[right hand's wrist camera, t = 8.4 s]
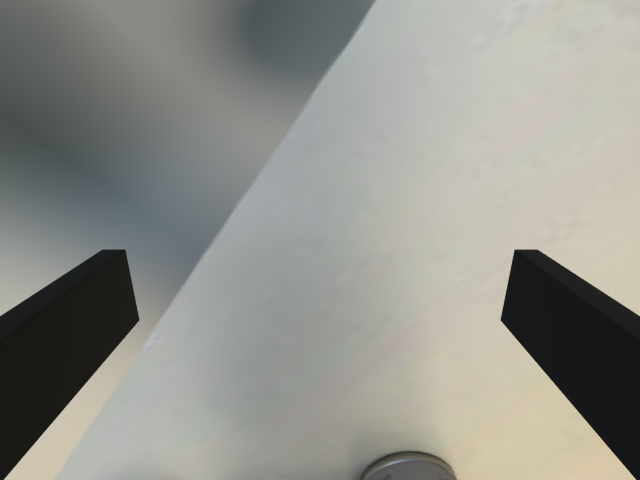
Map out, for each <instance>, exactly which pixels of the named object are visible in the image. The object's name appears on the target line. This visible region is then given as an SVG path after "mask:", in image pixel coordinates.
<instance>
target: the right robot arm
mask: <svg viewBox="0 0 640 480" xmlns="http://www.w3.org/2000/svg"><path fill="white" fill-rule="evenodd" d="M138 321H139V316H138V311H137V306H136V301H135V296H134V291H133V286H132V281H131V276H130V271H129V266H128V261H127V256H126V251H125V250H101V251H100V252H98V253H97V254H95V255H94V256H92V257H91V258H89V259H87V260H86V261H84V262H83V263H81V264H80V265H78V266H77V267H75V268H74V269H72V270H71V271H69V272H67V273H66V274H64V275H63V276H61V277H60V278H58V279H57V280H55V281H54V282H52V283H51V284H49V285H48V286H46V287H44V288H43V289H41V290H40V291H38V292H37V293H35V294H34V295H32V296H31V297H29V298H28V299H26V300H25V301H23V302H21V303H20V304H18V305H17V306H15V307H14V308H12V309H11V310H9V311H8V312H6V313H5V314H3V315H2V316H0V480H4V479H5V477H6V476H7V475H8V474H9V473H10V472H11V470H12V469H13V468H14V467H15V466H16V465H17V463H18V462H19V461H20V460H21V459H22V457H23V456H24V455H25V454H26V453H27V452H28V450H29V449H30V448H31V447H32V446H33V445H34V443H35V442H36V441H37V440H38V439H39V438H40V436H41V435H42V434H43V433H44V432H45V430H46V429H47V428H48V427H49V426H50V425H51V423H52V422H53V421H54V420H55V419H56V418H57V416H58V415H59V414H60V413H61V412H62V411H63V409H64V408H65V407H66V406H67V405H68V403H69V402H70V401H71V400H72V399H73V398H74V396H75V395H76V394H77V393H78V392H79V391H80V389H81V388H82V387H83V386H84V385H85V384H86V382H87V381H88V380H89V379H90V378H91V376H92V375H93V374H94V373H95V372H96V371H97V369H98V368H99V367H100V366H101V365H102V363H103V362H104V361H105V360H106V359H107V358H108V356H109V355H110V354H111V353H112V352H113V351H114V349H115V348H116V347H117V346H118V345H119V344H120V342H121V341H122V340H123V339H124V338H125V337H126V335H127V334H128V333H129V332H130V331H131V329H132V328H133V327H134V326H135V325H136V324H137V322H138ZM501 321H502V322H503V324H504V325H505V326H506V327H507V328H508V329H509V331H510V332H511V333H512V334H513V335H514V337H515V338H516V339H517V340H518V341H519V342H520V344H521V345H522V346H523V347H524V348H525V349H526V351H527V352H528V353H529V354H530V355H531V356H532V358H533V359H534V360H535V361H536V362H537V364H538V365H539V366H540V367H541V368H542V369H543V371H544V372H545V373H546V374H547V375H548V376H549V378H550V379H551V380H552V381H553V382H554V384H555V385H556V386H557V387H558V388H559V389H560V391H561V392H562V393H563V394H564V395H565V396H566V398H567V399H568V400H569V401H570V402H571V403H572V405H573V406H574V407H575V408H576V409H577V411H578V412H579V413H580V414H581V415H582V416H583V418H584V419H585V420H586V421H587V422H588V423H589V425H590V426H591V427H592V428H593V429H594V430H595V432H596V433H597V434H598V435H599V436H600V438H601V439H602V440H603V441H604V442H605V443H606V445H607V446H608V447H609V448H610V449H611V450H612V452H613V453H614V454H615V455H616V456H617V458H618V459H619V460H620V461H621V462H622V463H623V465H624V466H625V467H626V468H627V469H628V470H629V472H630V473H631V474H632V475H633V476H634V477H635V479H636V480H640V316H639V315H637V314H635V313H634V312H632V311H631V310H629V309H628V308H626V307H625V306H623V305H622V304H620V303H619V302H617V301H615V300H614V299H612V298H611V297H609V296H608V295H606V294H605V293H603V292H602V291H600V290H599V289H597V288H596V287H594V286H592V285H591V284H589V283H588V282H586V281H585V280H583V279H582V278H580V277H579V276H577V275H576V274H574V273H573V272H571V271H569V270H568V269H566V268H565V267H563V266H562V265H560V264H559V263H557V262H556V261H554V260H553V259H551V258H549V257H548V256H546V255H545V254H543V253H542V252H540V251H539V250H515V251H514V256H513V261H512V266H511V271H510V276H509V281H508V286H507V291H506V296H505V301H504V306H503V311H502V316H501ZM360 480H457V479H456V476H455V474H454V472H453V471H452V469H451V468H450V467H449V466H448V465H447V464H446V463H445V462H444V461H442V460H440V459H439V458H436V457H434V456H431V455H428V454H423V453H416V452H406V453H398V454H394V455H390V456H387V457H385V458H382V459H380V460H378V461H377V462H375V463H373V464H372V465H371V466H370V467H368V468H367V469H366V470H365V472H364V473H363V474H362V476H361V477H360Z"/></svg>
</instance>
